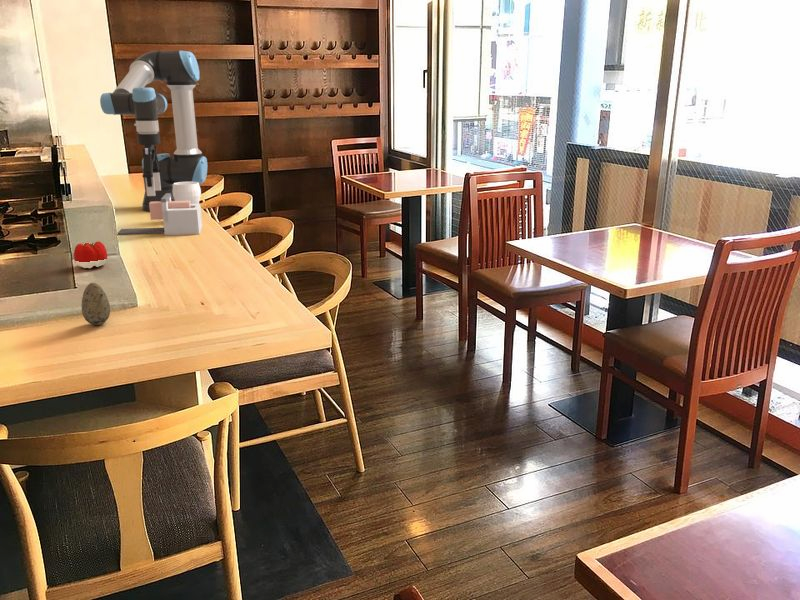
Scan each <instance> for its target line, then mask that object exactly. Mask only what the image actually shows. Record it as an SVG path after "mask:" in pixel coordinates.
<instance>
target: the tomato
mask: <svg viewBox="0 0 800 600" xmlns="http://www.w3.org/2000/svg"><path fill="white" fill-rule="evenodd" d="M91 243H92V244H89V243H85V244H84V245H83V243H78V244H77V245H75V247H74V251H73V258H74V262H75V261H79V262H90V261H98V260H104V259H107V260H108V252H107V249H106V246H105V244H104V243H102V242H101V241H98V240H97V241H95V242H91ZM93 244H94V245H93Z"/></svg>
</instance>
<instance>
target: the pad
mask: <svg viewBox="0 0 800 600" xmlns="http://www.w3.org/2000/svg"><path fill="white" fill-rule="evenodd" d="M117 233H118V235H117V236H127V235H154V234H165V232H164V226H162V227H140V228H138V227H137V228H136V227H135V228H121V229H119V231H118V232H117Z"/></svg>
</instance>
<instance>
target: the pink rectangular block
mask: <svg viewBox="0 0 800 600" xmlns="http://www.w3.org/2000/svg"><path fill="white" fill-rule="evenodd" d="M149 208H150V211H149V214H150V220H154V221H155V220H160V221H161V220H163V213H162V204H161V201H154V202H150V203H149ZM173 208H191V203H190V201H168V209H173Z"/></svg>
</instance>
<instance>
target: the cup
mask: <svg viewBox="0 0 800 600" xmlns="http://www.w3.org/2000/svg"><path fill="white" fill-rule="evenodd" d="M172 191H173V197H174V199H175V201H190V203H191V204H200V200H201V196H202V189H201V186H200V184H199V183H198V182H177V183H174V184H173V190H172Z"/></svg>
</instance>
